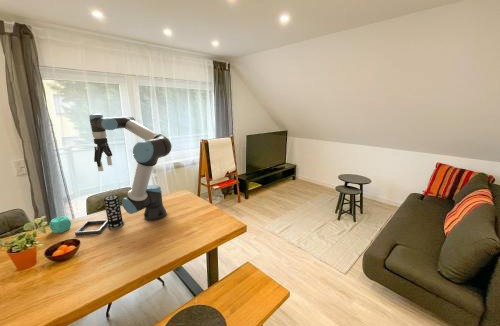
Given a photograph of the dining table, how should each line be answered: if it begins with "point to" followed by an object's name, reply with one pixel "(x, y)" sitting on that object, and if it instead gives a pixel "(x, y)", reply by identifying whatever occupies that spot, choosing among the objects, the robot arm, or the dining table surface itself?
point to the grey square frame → (91, 232)
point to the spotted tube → (113, 211)
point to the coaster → (115, 228)
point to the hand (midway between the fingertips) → (105, 168)
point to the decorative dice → (60, 224)
